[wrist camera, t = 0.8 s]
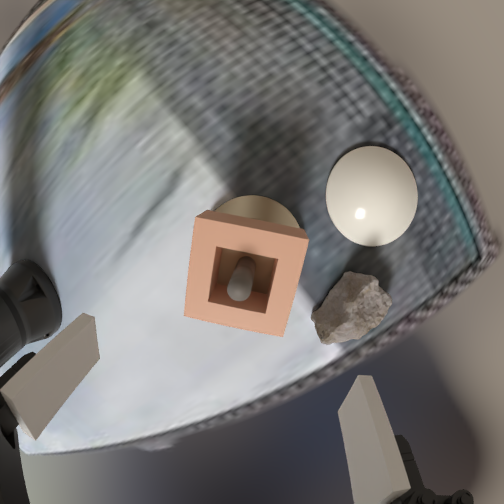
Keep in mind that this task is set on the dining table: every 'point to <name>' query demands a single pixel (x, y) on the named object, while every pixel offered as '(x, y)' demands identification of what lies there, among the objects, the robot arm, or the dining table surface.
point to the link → (251, 241)
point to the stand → (246, 264)
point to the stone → (351, 308)
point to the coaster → (371, 196)
